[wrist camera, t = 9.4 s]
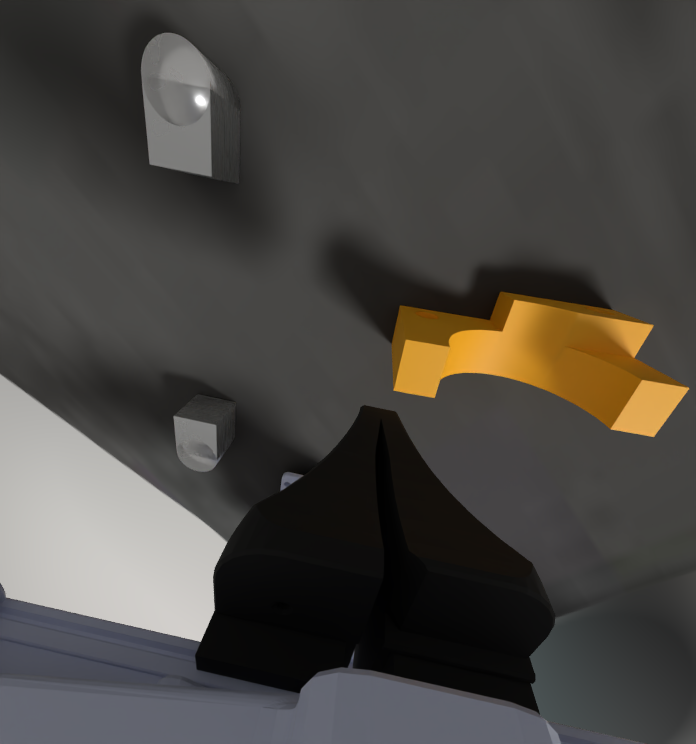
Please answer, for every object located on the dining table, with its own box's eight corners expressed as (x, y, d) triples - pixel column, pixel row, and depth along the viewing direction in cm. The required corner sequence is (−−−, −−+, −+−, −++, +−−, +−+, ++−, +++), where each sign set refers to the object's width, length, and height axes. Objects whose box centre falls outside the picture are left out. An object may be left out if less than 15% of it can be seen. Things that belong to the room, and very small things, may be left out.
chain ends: (234, 449, 26) (217, 475, 23) (199, 441, 26) (178, 467, 23) (240, 73, 15) (209, 40, 12) (181, 61, 15) (136, 25, 12)
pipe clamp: (610, 309, 18) (717, 349, 12) (575, 374, 20) (653, 436, 14) (406, 275, 18) (415, 299, 13) (391, 342, 20) (393, 390, 15)
